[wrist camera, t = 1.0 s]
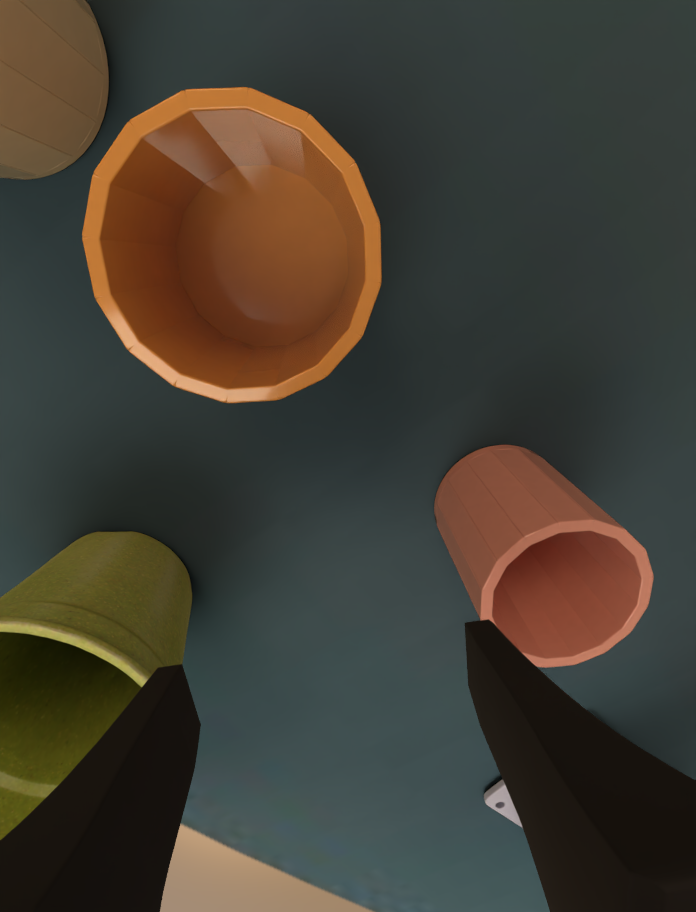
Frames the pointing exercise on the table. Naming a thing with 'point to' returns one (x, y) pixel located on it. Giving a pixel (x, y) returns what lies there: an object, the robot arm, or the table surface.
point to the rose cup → (541, 556)
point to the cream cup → (49, 85)
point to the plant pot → (81, 655)
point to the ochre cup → (233, 244)
